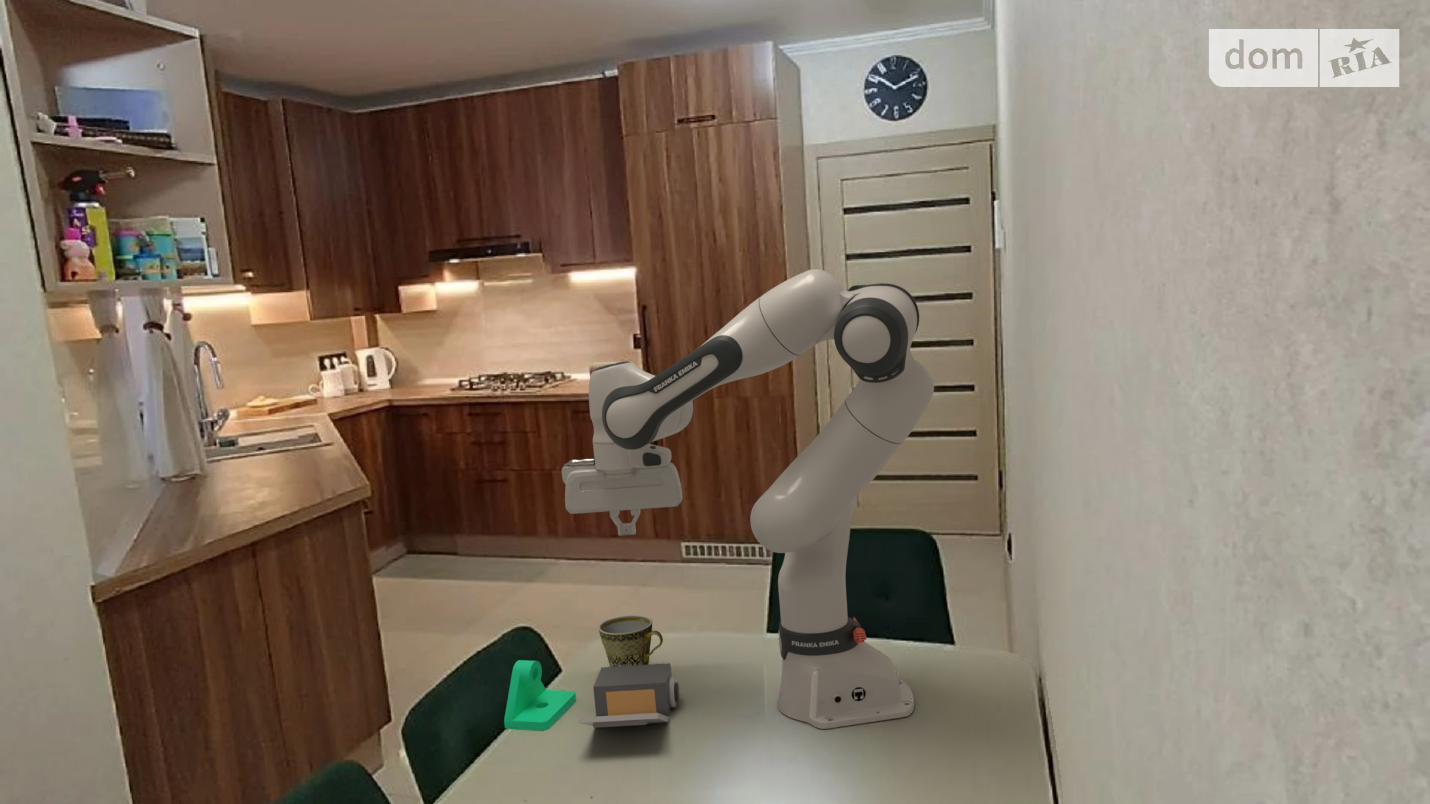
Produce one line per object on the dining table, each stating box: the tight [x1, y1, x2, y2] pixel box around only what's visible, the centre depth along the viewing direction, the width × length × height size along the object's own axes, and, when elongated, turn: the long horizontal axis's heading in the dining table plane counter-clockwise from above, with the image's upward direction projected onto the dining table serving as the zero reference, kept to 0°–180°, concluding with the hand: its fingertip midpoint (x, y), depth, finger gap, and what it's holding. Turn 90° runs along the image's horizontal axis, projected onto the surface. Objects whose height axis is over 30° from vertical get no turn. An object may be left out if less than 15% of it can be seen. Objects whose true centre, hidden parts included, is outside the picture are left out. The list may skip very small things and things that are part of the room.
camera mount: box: [503, 659, 577, 732], centre depth 156 cm, size 12×8×10 cm, turn 163°
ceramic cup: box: [598, 614, 664, 667], centre depth 171 cm, size 13×10×10 cm
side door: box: [578, 713, 671, 729], centre depth 145 cm, size 12×2×13 cm
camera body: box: [592, 662, 680, 717], centre depth 155 cm, size 13×8×7 cm, turn 88°
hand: (627, 534), depth 160 cm, fingers closed
